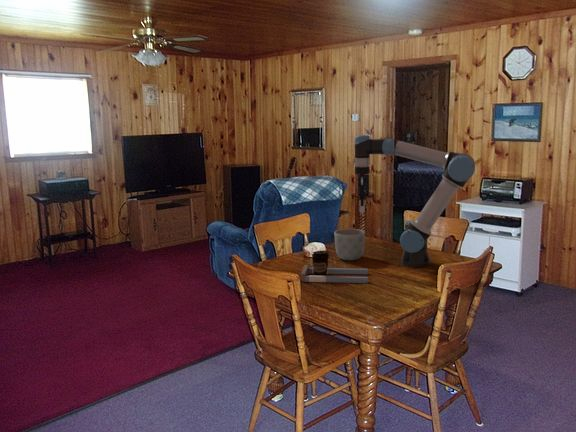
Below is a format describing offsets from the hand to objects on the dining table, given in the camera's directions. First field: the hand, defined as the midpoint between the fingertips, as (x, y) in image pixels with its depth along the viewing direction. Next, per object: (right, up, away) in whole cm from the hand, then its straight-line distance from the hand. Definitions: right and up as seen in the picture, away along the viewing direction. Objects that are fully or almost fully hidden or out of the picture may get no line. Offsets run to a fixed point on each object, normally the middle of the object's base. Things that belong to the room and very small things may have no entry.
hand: (362, 211), depth 270 cm
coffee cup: (-22, -33, -10) cm, 41 cm away
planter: (-4, -26, +22) cm, 34 cm away
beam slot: (-14, -33, -11) cm, 37 cm away
